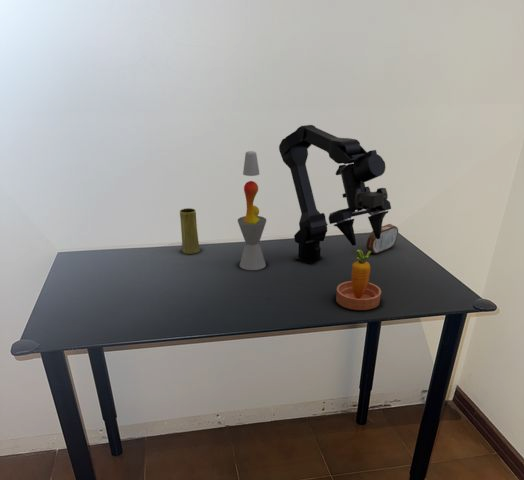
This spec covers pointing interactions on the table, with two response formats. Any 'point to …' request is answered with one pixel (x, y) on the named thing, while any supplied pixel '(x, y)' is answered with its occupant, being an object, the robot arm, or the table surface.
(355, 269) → the carrot
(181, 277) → the table surface
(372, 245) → the tin
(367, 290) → the bowl
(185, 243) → the vase
